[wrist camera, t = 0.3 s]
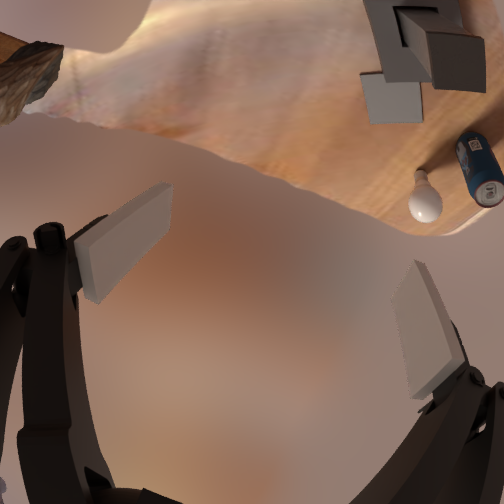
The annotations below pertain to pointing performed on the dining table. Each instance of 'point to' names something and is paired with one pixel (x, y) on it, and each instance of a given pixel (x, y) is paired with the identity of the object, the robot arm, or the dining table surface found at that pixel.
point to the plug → (443, 49)
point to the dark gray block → (392, 46)
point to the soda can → (480, 170)
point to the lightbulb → (424, 199)
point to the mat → (391, 100)
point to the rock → (27, 77)
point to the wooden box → (9, 46)
